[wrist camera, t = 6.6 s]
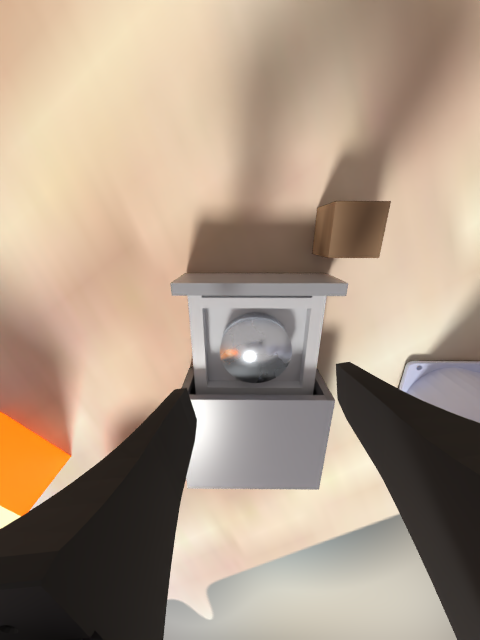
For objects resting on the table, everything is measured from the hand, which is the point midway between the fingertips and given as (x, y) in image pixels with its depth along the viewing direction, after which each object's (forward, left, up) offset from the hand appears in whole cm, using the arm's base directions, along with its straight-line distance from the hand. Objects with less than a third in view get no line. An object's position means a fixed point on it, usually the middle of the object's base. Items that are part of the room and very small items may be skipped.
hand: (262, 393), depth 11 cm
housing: (0, +10, -10) cm, 13 cm away
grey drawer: (0, +2, -9) cm, 10 cm away
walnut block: (-6, -7, -10) cm, 13 cm away
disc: (0, +1, -8) cm, 8 cm away
